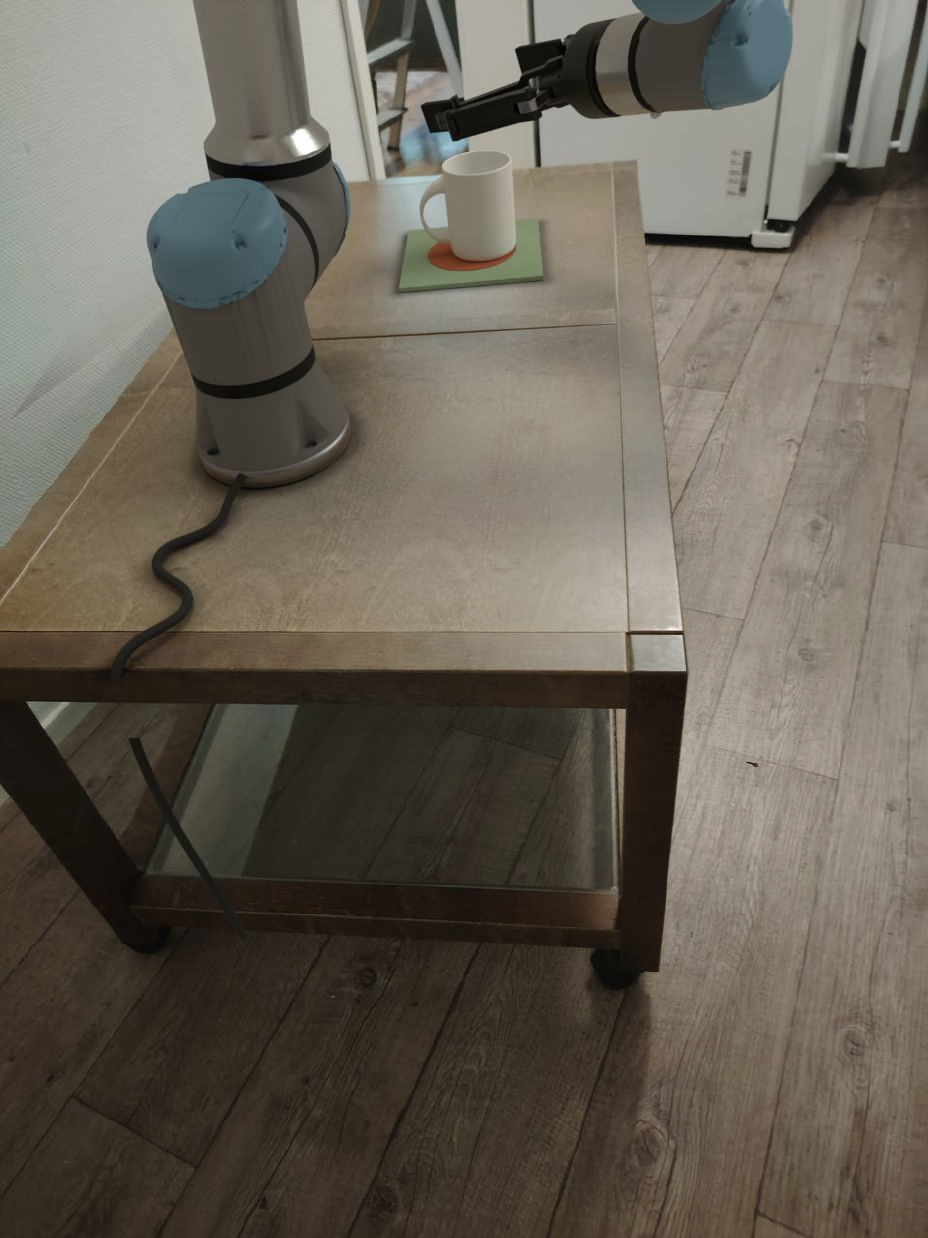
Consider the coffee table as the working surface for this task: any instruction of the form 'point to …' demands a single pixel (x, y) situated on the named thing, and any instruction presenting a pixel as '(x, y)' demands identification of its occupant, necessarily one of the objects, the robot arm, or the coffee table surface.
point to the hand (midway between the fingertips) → (475, 88)
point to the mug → (476, 205)
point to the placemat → (469, 262)
